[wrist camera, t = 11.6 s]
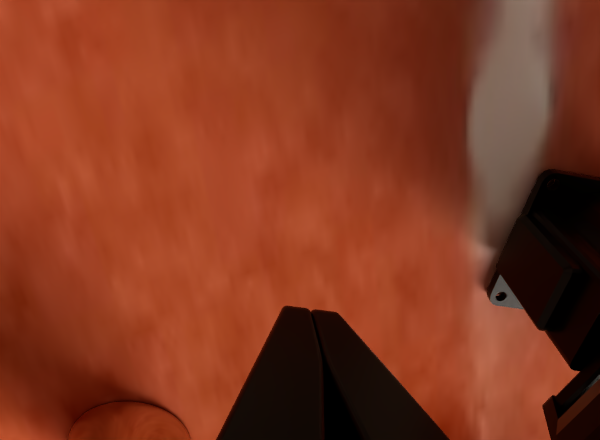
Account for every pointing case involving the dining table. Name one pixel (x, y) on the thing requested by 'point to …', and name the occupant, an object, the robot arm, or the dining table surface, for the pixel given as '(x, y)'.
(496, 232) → the dining table surface
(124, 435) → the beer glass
